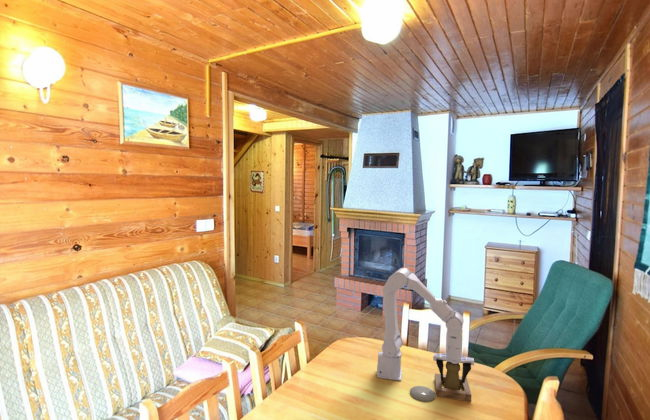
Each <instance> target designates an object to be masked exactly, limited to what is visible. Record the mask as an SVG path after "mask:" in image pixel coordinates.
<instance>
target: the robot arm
mask: <svg viewBox="0 0 650 420" xmlns="http://www.w3.org/2000/svg"><path fill="white" fill-rule="evenodd" d="M416 275H417V274H415V273H414V272H412V271H411V270H410V269H409V268H407V267H401V268H398V269H397V270H395V272H394V273H392V274H391V275H390V276H388V279H387V280H386V282H385V284H384V285H383V287H382V293H383V296H382V297H383V311H384V312H383V314H384V328H385V331H384V335H383V344H382V346H381V350H382V351H378V354H377V365H376V366H377V367H376V370H377V375H376V377H377V378H378V379H386V380H394V381H402V375H403V374H402V373H403V370H402V367H401V365H402V352H401V347H402V346H403V343H404V342H403V338H402V337H401V332H400V330H399V325H398V324H399V322H398V321H399V319H398V305H397V291H399V290H400V289H403V288H405V289H406V290H413V291H415V292H416V293H417V294H418V295H419V296H420V297H422V298H423V299H424V301H426V302H427V303H429V306H430V310H431V311H432V312H433V313H434V314H435V316H437V317H438V318H439V319H441V321H442V322H444V323H445V327H446V335H445V353H432V354H433V355H432V357H433V358H432V359H433V362H434V361H435V362H436V365H437V368H438V371H439V374H440V375H441V380H443V375H444V362H447V361H448V362H451V363H453V364H457V363H459V364H462V373H461V377H462V383H465V379H466V378H467V376H468V374H469V373H470V371H471V369H472V366H475V360H474V358H473V357H469V356H465V355H463V354H462V353H463V326H464V317H463V315H462V314H461V313H460V312H458V311H456V310H454V309H453V308H452V307H451V306H449V305H448V302H447V300H446V299H443V298H439V297H436V296H435V295H434V294H433V292H431V291H430V290H429V289H428V288H427V287H426V286H425V284H423V282H422V281H421V280H420V279H419V277H417V276H416Z"/></svg>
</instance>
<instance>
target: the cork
mask: <svg viewBox="0 0 650 420" xmlns="http://www.w3.org/2000/svg"><path fill="white" fill-rule="evenodd" d="M445 369H446V374H445V375H446V378H445V383H443V388H447V389H454V390H461V387H460V383H459V377H460V374H459V373H460V371H461V365H460V363H457V364H453V363H451V362H448V361H445Z"/></svg>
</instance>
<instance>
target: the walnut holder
mask: <svg viewBox="0 0 650 420" xmlns="http://www.w3.org/2000/svg"><path fill="white" fill-rule="evenodd" d="M445 378H446V374H443V380H441V375H440V373H434V386H435V397H439V398H443V399H444V398H445V399H446V398H447V399H452V400H458V401H466V402H472V392H471V388H470V384H469V381H468V378H467V377H466V379H465V383H462V376H459V383H460V386H461V389H460V390H454V389H447V388H444V387H443V385H442V384H445Z"/></svg>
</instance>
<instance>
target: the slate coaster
mask: <svg viewBox="0 0 650 420" xmlns="http://www.w3.org/2000/svg"><path fill="white" fill-rule="evenodd" d="M409 394H410V396H411V397H412V398H414V399H415V400H417V401H420V402H425V403H426V402H428V403H429V402H432V401H434V400H435V398H436V392H435V391H434V390H433V389H431V388H429V387H426V386H423V385H415V386H412V387H411V388H410V389H409Z"/></svg>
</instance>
